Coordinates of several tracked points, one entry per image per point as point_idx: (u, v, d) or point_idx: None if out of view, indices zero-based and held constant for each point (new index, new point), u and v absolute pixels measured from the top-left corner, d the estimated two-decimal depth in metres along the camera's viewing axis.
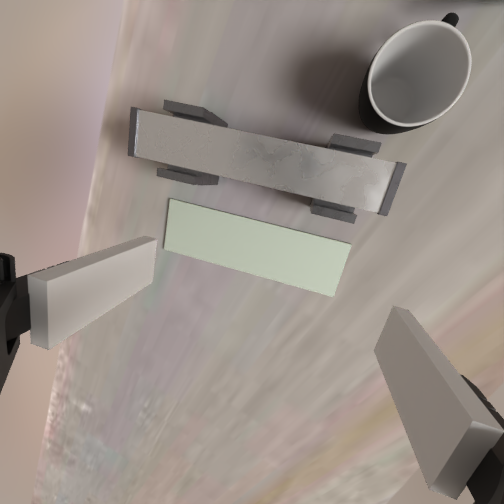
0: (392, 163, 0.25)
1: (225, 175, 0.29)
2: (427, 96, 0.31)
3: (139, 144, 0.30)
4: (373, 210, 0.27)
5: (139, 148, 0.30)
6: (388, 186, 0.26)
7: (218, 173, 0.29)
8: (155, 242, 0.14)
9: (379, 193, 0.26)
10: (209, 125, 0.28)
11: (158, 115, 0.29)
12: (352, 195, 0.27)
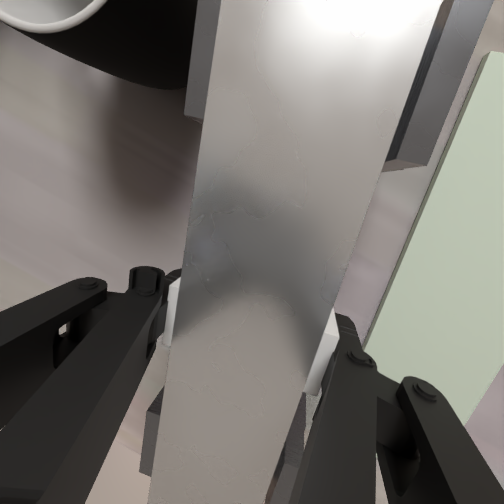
0: None
1: (282, 433, 0.10)
2: None
3: None
4: None
5: None
6: None
7: (275, 449, 0.10)
8: None
9: None
10: (159, 441, 0.11)
11: None
12: None
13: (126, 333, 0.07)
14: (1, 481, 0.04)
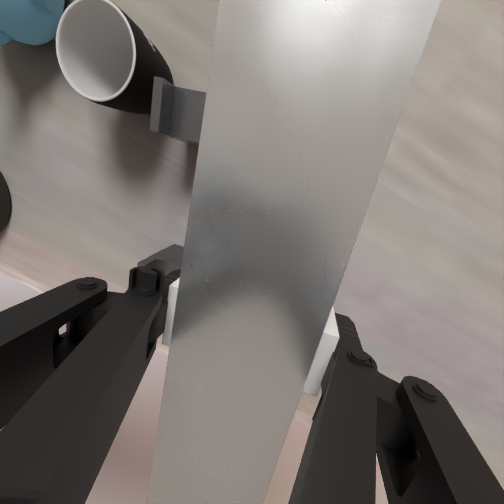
0: None
1: (281, 434, 0.10)
2: None
3: None
4: None
5: None
6: None
7: (274, 450, 0.10)
8: None
9: None
10: (158, 441, 0.11)
11: None
12: None
13: (126, 333, 0.07)
14: (1, 481, 0.04)
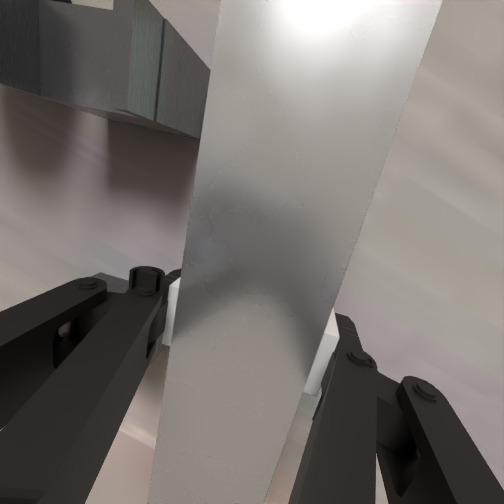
0: None
1: (282, 434, 0.10)
2: None
3: None
4: None
5: None
6: None
7: (275, 450, 0.10)
8: None
9: None
10: (159, 441, 0.11)
11: None
12: None
13: (126, 333, 0.07)
14: (1, 481, 0.04)
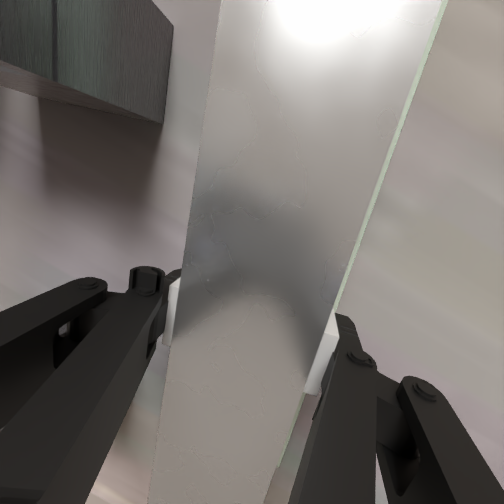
0: None
1: (282, 434, 0.10)
2: None
3: None
4: None
5: None
6: None
7: (275, 450, 0.10)
8: None
9: None
10: (159, 441, 0.11)
11: None
12: None
13: (126, 333, 0.07)
14: (1, 481, 0.04)
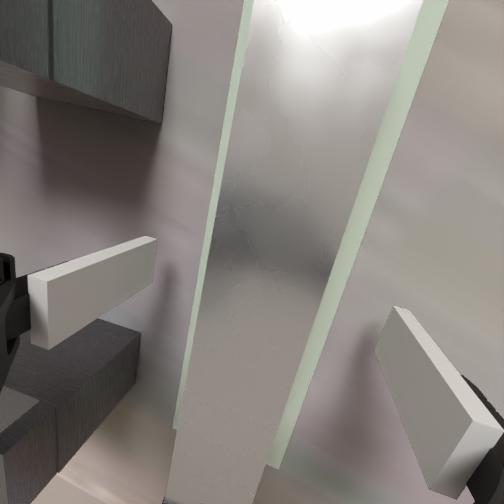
0: None
1: (287, 386, 0.12)
2: None
3: None
4: None
5: None
6: None
7: (282, 400, 0.12)
8: (155, 242, 0.14)
9: None
10: (185, 397, 0.13)
11: (171, 475, 0.15)
12: (374, 29, 0.08)
13: None
14: None
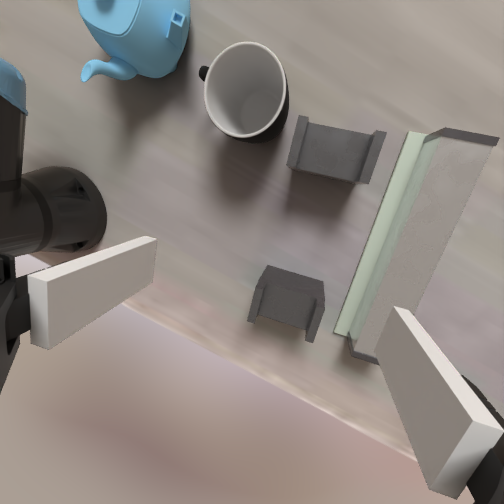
0: (441, 140, 0.28)
1: (424, 288, 0.32)
2: (257, 78, 0.33)
3: None
4: (489, 151, 0.27)
5: None
6: (464, 141, 0.27)
7: (420, 295, 0.32)
8: (155, 242, 0.14)
9: (470, 148, 0.27)
10: (376, 297, 0.33)
11: (361, 336, 0.35)
12: (468, 174, 0.28)
13: None
14: None
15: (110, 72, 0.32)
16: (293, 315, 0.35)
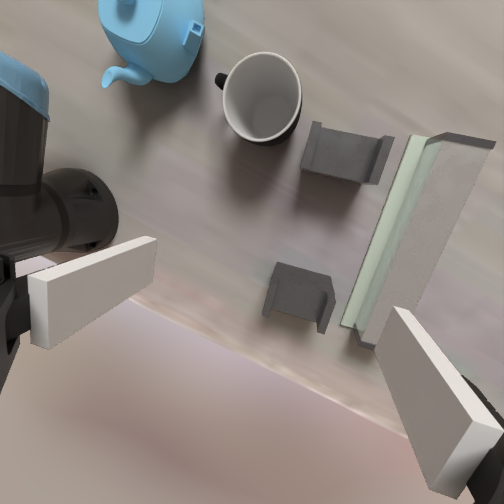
0: (443, 143, 0.30)
1: (426, 281, 0.34)
2: (269, 84, 0.34)
3: None
4: (486, 154, 0.29)
5: None
6: (464, 144, 0.30)
7: (423, 287, 0.34)
8: (155, 242, 0.14)
9: (470, 151, 0.30)
10: (382, 290, 0.36)
11: (368, 326, 0.37)
12: (467, 174, 0.30)
13: None
14: None
15: (128, 78, 0.33)
16: (305, 308, 0.37)
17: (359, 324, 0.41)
